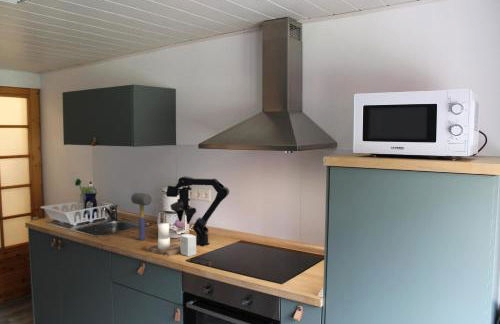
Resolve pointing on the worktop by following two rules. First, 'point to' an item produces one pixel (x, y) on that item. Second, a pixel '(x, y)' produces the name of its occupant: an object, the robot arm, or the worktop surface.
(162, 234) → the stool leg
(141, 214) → the rubber mallet
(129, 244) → the worktop surface
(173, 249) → the socket board
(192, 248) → the small box
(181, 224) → the cupcake
